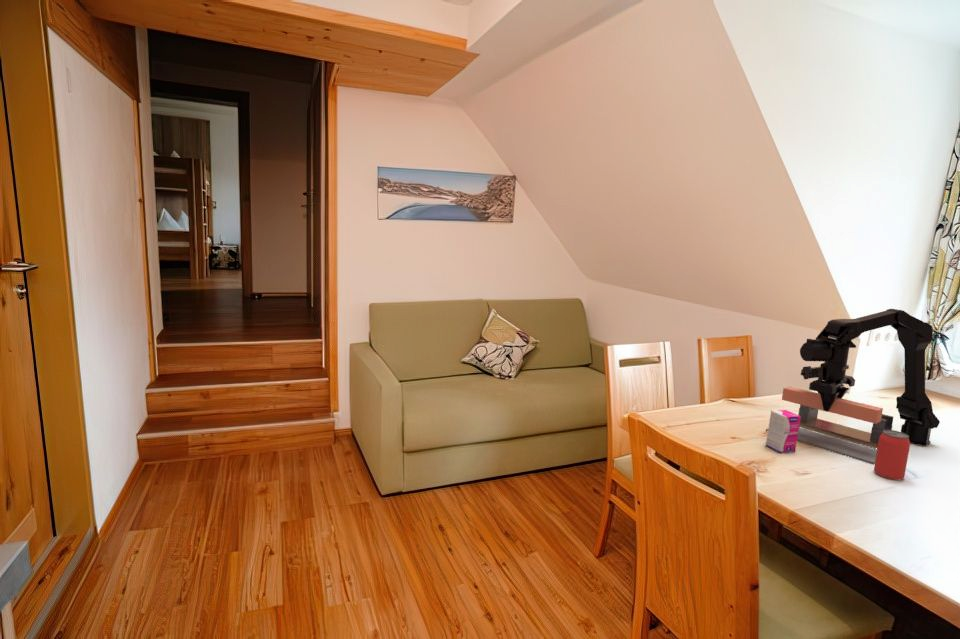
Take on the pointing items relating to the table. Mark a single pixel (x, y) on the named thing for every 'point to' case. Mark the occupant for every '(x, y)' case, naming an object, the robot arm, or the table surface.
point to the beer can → (892, 454)
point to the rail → (833, 405)
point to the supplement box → (783, 431)
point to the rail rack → (844, 427)
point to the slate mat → (837, 445)
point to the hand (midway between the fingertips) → (828, 410)
